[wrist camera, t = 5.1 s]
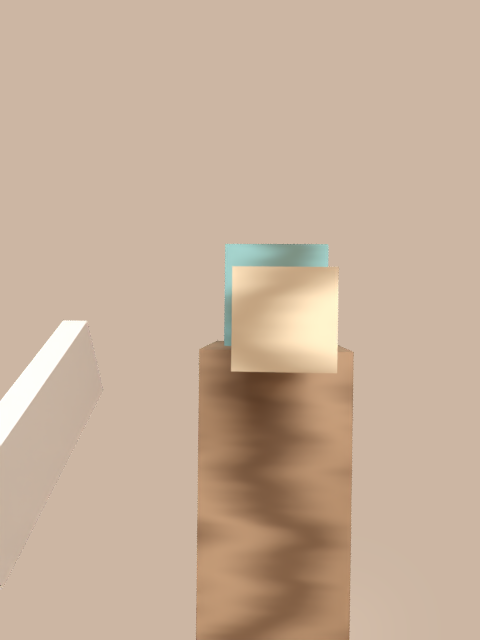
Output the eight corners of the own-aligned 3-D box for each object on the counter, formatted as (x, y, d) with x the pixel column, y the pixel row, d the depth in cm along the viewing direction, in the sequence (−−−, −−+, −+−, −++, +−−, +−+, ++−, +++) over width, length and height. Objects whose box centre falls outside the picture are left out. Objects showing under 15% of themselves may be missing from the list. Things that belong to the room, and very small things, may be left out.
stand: (193, 911, 24) (199, 349, 24) (211, 763, 32) (216, 340, 32) (345, 926, 24) (353, 352, 23) (325, 772, 32) (332, 342, 31)
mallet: (191, 370, 15) (193, 185, 15) (231, 340, 33) (232, 257, 33) (378, 374, 14) (381, 184, 14) (315, 341, 32) (316, 257, 32)
